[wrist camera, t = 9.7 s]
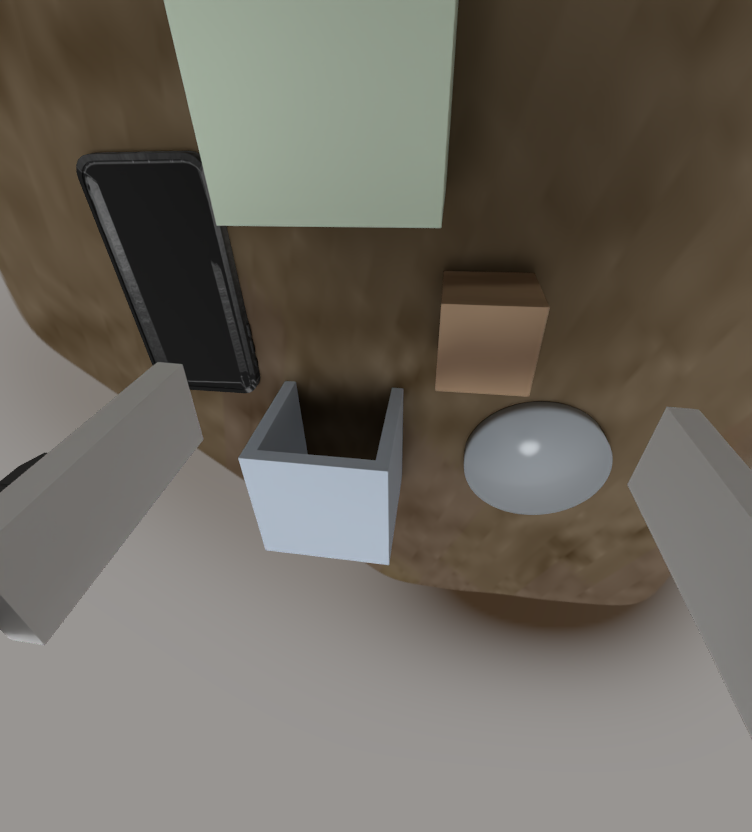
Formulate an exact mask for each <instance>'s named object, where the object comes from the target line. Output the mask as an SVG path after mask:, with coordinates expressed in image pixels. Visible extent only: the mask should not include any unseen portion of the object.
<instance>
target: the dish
mask: <svg viewBox="0 0 752 832" xmlns="http://www.w3.org/2000/svg"><path fill="white" fill-rule="evenodd" d="M611 468H612V452H611V448H610V446H609V443H608V441H607V439H606V436H605V434H604V432H603V430H602V429H601V427H600V426H599V424H598V423H597V422H596V421H595V420H594V419H593V418H592V417H590V416H589V415H587V414H586V413H585V412H583V411H581V410H579V409H577V408H574V407H571V406H569V405H565V404H561V403H555V402H527V403H522V404H517V405H513V406H510V407H507V408H505V409H502V410H500V411H498V412H496V413H494V414H492V415H490V416H489V417H488V418H486V419H485V420H483V421H482V422H481V423H480V424H479V425H478V426H477V427H476V428H475V429H474V431H473V432H472V433H471V435H470V437H469V438H468V441H467V443H466V446H465V450H464V471H465V477H466V480H467V482H468V484H469V486H470V488H471V489H472V490H473V492H474V493H475V494H476V495H477V496H478V497H479V498H481V499H482V500H483V501H485V502H486V503H488V504H490V505H491V506H494V507H496V508H498V509H501V510H504V511H507V512H512V513H517V514H527V515H540V514H549V513H554V512H559V511H562V510H566V509H569V508H571V507H574V506H576V505H578V504H580V503H582V502H584V501H585V500H587V499H588V498H590V497H591V496H592V495H594V494H595V493H596V492H597V491H598V490H599V489H600V488H601V487H602V486H603V484H604V483H605V482H606V480H607V478H608V476H609V474H610V471H611Z"/></svg>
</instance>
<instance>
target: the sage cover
mask: <svg viewBox="0 0 752 832" xmlns="http://www.w3.org/2000/svg"><path fill="white" fill-rule="evenodd" d="M458 1H459V0H164V4H165V8H166V12H167V17H168V21H169V25H170V29H171V34H172V38H173V42H174V46H175V51H176V55H177V59H178V63H179V68H180V72H181V76H182V80H183V85H184V89H185V93H186V97H187V102H188V106H189V110H190V114H191V119H192V123H193V127H194V131H195V136H196V140H197V144H198V148H199V153H200V157H201V161H202V165H203V170H204V174H205V178H206V182H207V187H208V191H209V195H210V199H211V204H212V208H213V212H214V216H215V221H216V225H217V226H298V227H392V228H441V225H442V217H443V208H444V200H445V192H446V180H447V165H448V150H449V135H450V120H451V105H452V90H453V75H454V60H455V45H456V30H457V15H458Z"/></svg>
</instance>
